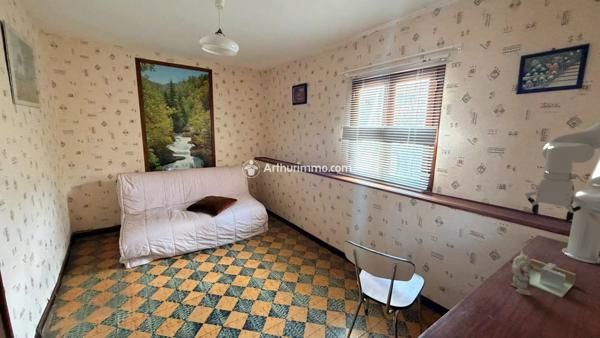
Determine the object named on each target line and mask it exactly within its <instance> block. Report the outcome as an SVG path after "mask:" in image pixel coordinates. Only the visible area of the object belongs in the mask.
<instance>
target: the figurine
mask: <svg viewBox="0 0 600 338" xmlns="http://www.w3.org/2000/svg"><path fill="white" fill-rule="evenodd" d="M529 256H530V255H529V254H527V255H526V254H525V252H524V250H523V249H521V250H520V254H519V255H517V256H516V257H515V258H514V259H512V260H509V262H510V263H511V273H513V272H514V274H515V276H514V278H513V277H512V280H513V281H512V283H510V286H511V287H512V286H513V287H514V288H516V290H515V292H516V293H518V294H520V295H524V296H532V292H531V291H530V290H528V286H530V285H529V284H530V281H529V280H530V276H529V273H530V272H529V271H530V270H531V269H532V268H533V266H532V265H531V264H530V263H531V259H532V258H531V259H530V257H529Z"/></svg>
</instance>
